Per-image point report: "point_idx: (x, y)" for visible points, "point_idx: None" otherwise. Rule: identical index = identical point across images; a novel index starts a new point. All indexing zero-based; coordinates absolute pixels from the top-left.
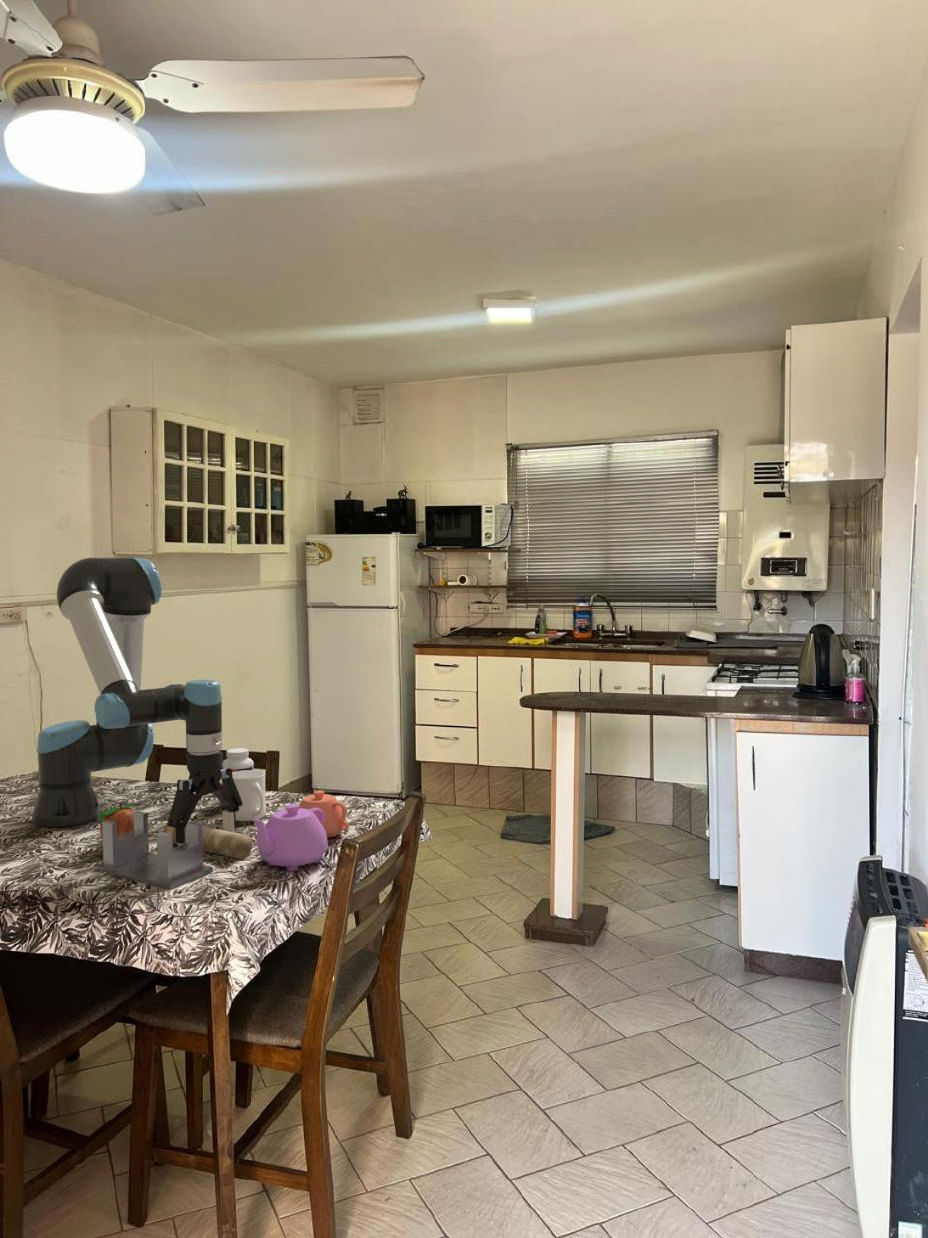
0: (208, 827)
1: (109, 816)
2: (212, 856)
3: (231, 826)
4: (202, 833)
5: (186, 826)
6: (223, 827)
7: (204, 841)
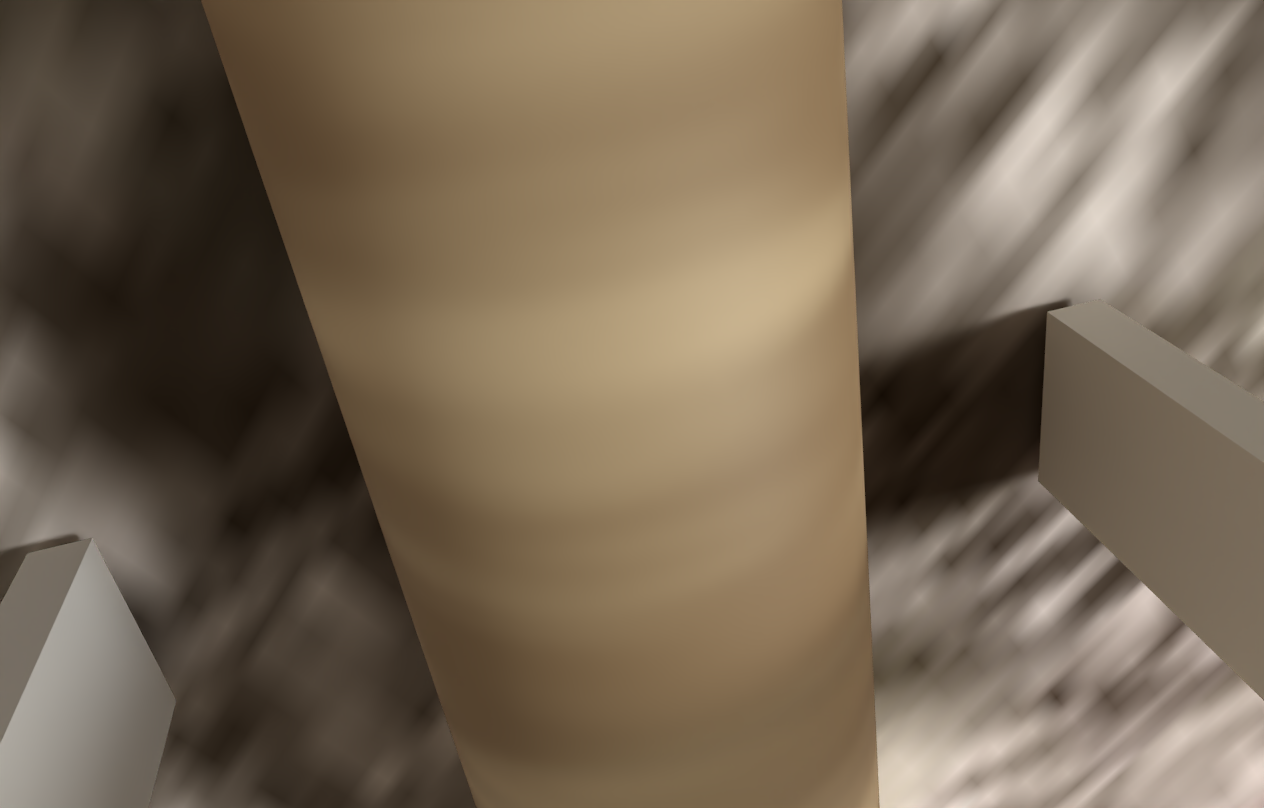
0: (786, 698)
1: None
2: None
3: (1203, 631)
4: (524, 799)
5: (475, 262)
6: (1191, 428)
7: (473, 798)
